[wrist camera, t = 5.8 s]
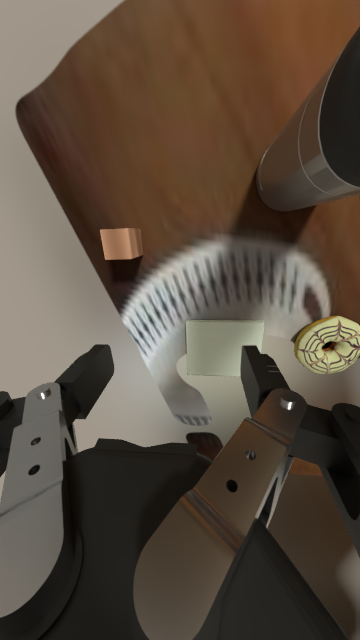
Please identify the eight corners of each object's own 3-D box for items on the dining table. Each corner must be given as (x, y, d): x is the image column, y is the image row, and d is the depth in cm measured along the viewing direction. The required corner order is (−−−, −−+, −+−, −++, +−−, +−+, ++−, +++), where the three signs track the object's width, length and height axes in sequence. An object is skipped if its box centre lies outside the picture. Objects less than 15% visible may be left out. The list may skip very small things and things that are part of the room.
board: (263, 320, 37) (264, 322, 36) (256, 374, 41) (257, 377, 41) (186, 319, 38) (185, 322, 37) (187, 371, 43) (187, 374, 42)
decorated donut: (367, 338, 36) (385, 350, 33) (314, 373, 40) (325, 386, 37) (331, 301, 34) (345, 309, 31) (279, 341, 38) (287, 352, 35)
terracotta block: (140, 228, 33) (127, 228, 27) (143, 254, 34) (131, 259, 29) (117, 230, 33) (99, 229, 28) (120, 255, 35) (105, 259, 29)
